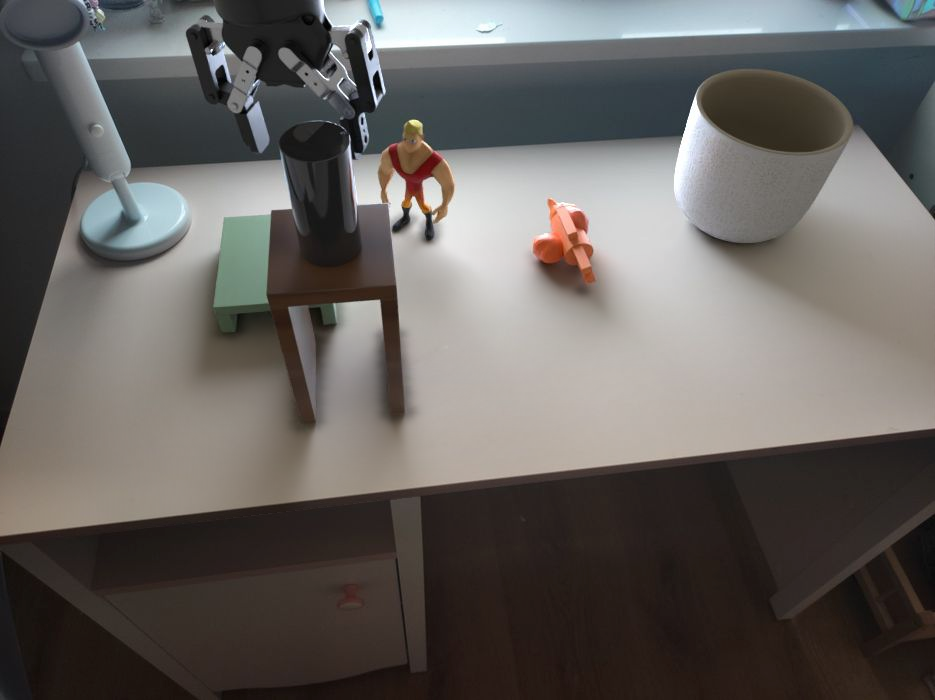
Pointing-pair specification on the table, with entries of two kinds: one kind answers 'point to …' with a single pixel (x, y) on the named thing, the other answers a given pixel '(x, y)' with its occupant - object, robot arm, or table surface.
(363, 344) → the table surface
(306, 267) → the high shelf
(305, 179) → the glossy black cylinder
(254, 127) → the robot arm
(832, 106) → the planter
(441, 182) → the action figure
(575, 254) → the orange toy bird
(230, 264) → the low shelf
